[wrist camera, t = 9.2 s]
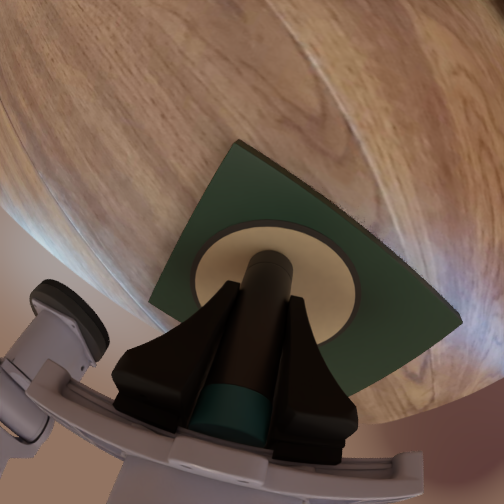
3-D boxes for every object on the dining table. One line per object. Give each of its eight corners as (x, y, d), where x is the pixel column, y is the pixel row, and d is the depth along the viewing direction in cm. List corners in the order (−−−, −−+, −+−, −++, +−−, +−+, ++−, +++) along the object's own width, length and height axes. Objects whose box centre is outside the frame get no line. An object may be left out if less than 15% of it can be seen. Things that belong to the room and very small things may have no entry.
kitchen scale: (459, 313, 17) (463, 324, 16) (340, 392, 24) (339, 402, 23) (238, 138, 14) (233, 142, 13) (153, 294, 21) (147, 303, 20)
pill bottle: (288, 291, 17) (258, 455, 8) (244, 281, 17) (189, 438, 9) (299, 255, 15) (272, 437, 7) (250, 244, 15) (185, 414, 7)
